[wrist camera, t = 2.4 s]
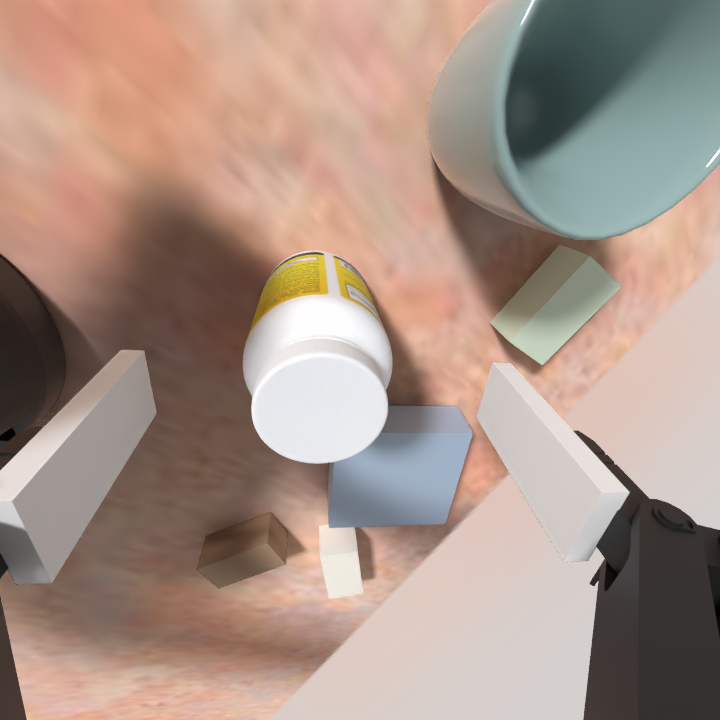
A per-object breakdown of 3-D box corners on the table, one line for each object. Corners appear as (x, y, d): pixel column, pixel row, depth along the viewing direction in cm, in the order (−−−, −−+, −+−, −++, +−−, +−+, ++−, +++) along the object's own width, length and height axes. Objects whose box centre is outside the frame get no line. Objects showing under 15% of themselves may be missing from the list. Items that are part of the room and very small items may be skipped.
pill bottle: (256, 337, 23) (217, 471, 13) (271, 236, 20) (234, 313, 11) (354, 354, 24) (381, 488, 15) (380, 261, 22) (435, 351, 12)
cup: (591, 109, 19) (828, 74, 10) (477, 232, 21) (590, 289, 13) (497, -36, 16) (720, -258, 7) (376, 127, 18) (435, 108, 10)
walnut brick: (225, 553, 33) (218, 588, 30) (206, 534, 31) (196, 569, 29) (287, 530, 32) (285, 564, 30) (270, 510, 31) (267, 543, 28)
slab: (327, 495, 30) (328, 527, 28) (334, 404, 26) (336, 433, 23) (434, 493, 32) (445, 523, 29) (457, 406, 27) (472, 433, 25)
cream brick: (359, 560, 35) (363, 593, 33) (327, 565, 35) (328, 598, 33) (353, 519, 32) (357, 551, 30) (319, 524, 32) (319, 557, 30)
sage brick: (518, 343, 26) (542, 365, 23) (488, 321, 24) (509, 342, 22) (587, 270, 24) (622, 285, 21) (557, 243, 22) (590, 255, 20)
